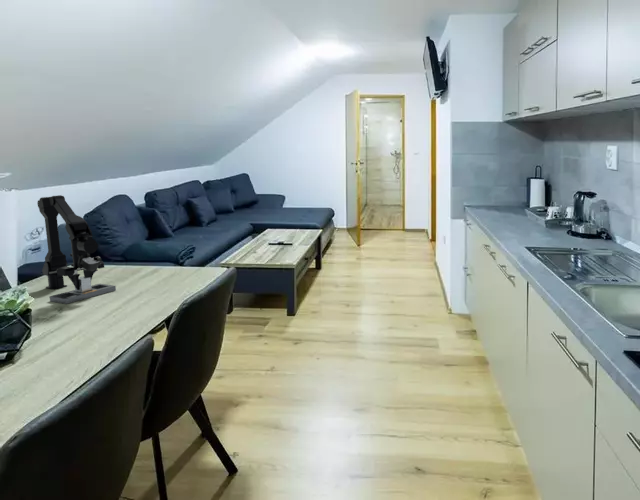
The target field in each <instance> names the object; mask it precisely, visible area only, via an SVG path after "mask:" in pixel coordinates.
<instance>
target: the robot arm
mask: <svg viewBox="0 0 640 500" xmlns="http://www.w3.org/2000/svg"><path fill="white" fill-rule="evenodd" d="M37 207H38V209H39V213H40V214H41V215H42V217H43V218H44V224H45V226H44V227H45V233H46V241H47V253H46V255H45V257H44V264H43V267H42V269H41V270H42V275H43V276H46V277H47V283H48V286H45V289H49V290H50V289H51V290H58V289H62V288H66V287H68V285H66V284H65V282H64V277H68V279H69V280H70V281H71V283H72V285H74V288H75V287H76V289H77V290H79V277H81V274H80V273H79V272H80V271H82V273H83V276H85V277H91V281H92V280H93V277H94V274H95V273H96V272H97V271H98V269H99V270H100V269H104V268H105V263H104V261H103V260H102V258H101V256H99V255H98V256H95V257H91V254H94V253H96V251H97V250H98V247H99V244H98V242H97V241H96V240H95V239H93V234H92V233H93V231H92V230H91V228H90V226H89V224H88V222H87V221H86V220H85V219H84V218H83V217H82V216H81V215H80V216H79V215H77V214H76V213H75V211H74V209H72V207H71V206H70V204H68V202H67V201H66V199H65V196H64V195H62V194H61V195H52V196H42V197H40V198H39V199H38V200H37ZM59 215H60V216H61V219H62V220H63V222H64V223H65V230H66V232H67V234H68V235H69V237H68V240H69V241H70V245H71V253H70V254H69V256H70V257H71V258H72V263H71V264H70V266H68V261H67V255H66V254H64V253H63V251H61V244H60V234H59V227H58V225H59V224H58V216H59Z"/></svg>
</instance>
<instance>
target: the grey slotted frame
mask: <svg viewBox="0 0 640 500" xmlns="http://www.w3.org/2000/svg"><path fill="white" fill-rule="evenodd" d="M91 287H92V291H88V292H85V293H77V292H75V289H73V290H68V291H65V292H61V293H57V294H54V295H50V296H49V302H53V303H58V304H64V305H68V304H71V303H75V302H79V301H81V300H86V299H90V298H93V297H98V296H100V295H104V294H107V293H111V292H115V291H117V288H116V287H117V286H116V285H113V284H112V285H111V284H106V283H105V284H104V283H97V284H94V285H93V284H91Z"/></svg>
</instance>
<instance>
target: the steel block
mask: <svg viewBox="0 0 640 500" xmlns="http://www.w3.org/2000/svg"><path fill="white" fill-rule="evenodd" d="M91 286H92V280H91V277H85V276H84V275H83V276H79V290H77V289H76V287H75V286H74V290H75V292H77V293H85V292H88V291H92V287H91Z"/></svg>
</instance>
